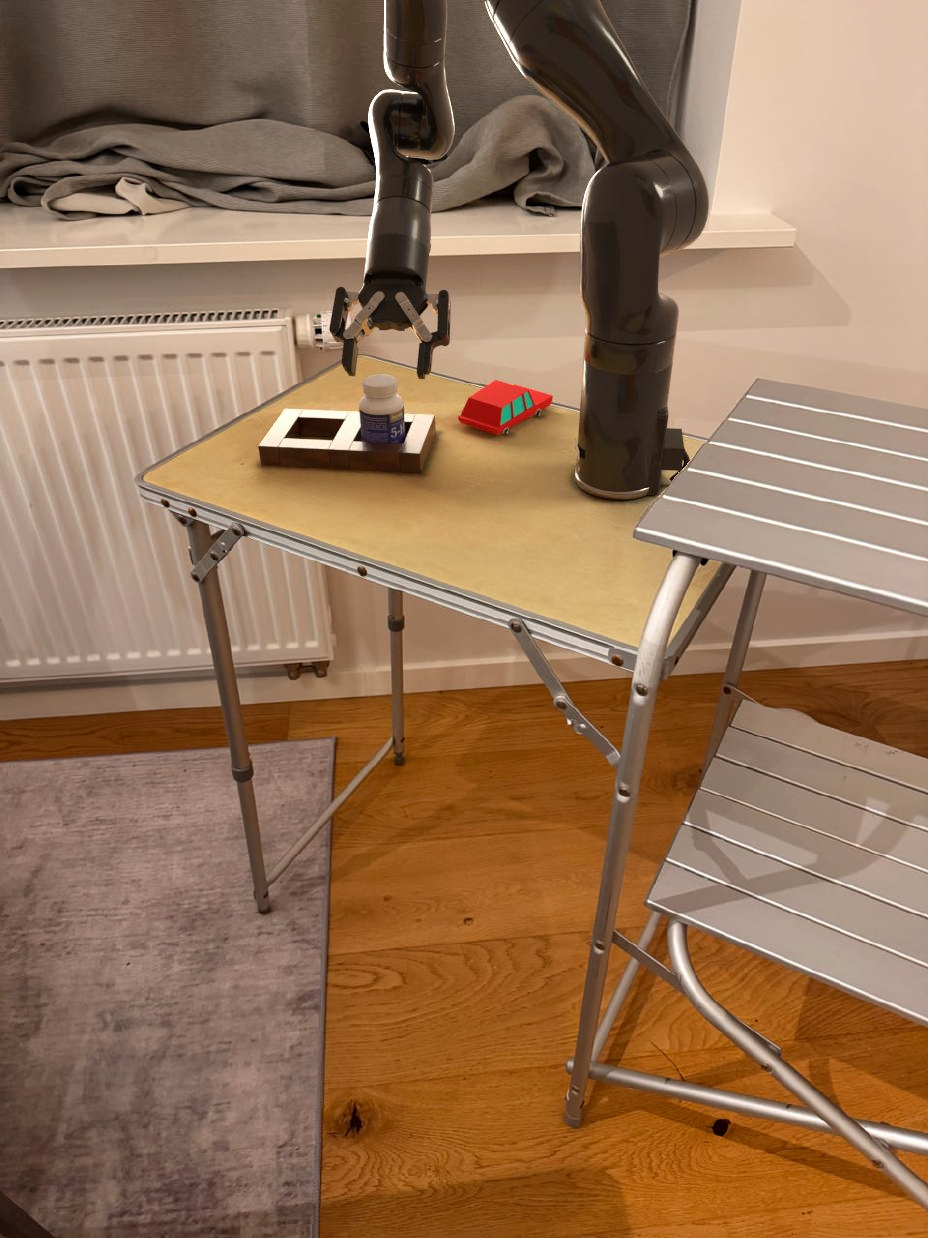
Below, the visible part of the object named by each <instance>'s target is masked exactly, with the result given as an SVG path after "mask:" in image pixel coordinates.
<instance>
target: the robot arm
mask: <svg viewBox="0 0 928 1238" xmlns="http://www.w3.org/2000/svg"><path fill="white" fill-rule="evenodd" d="M484 4H485V8H486V10H487V13H488V15H489V17H490V19H491V21H492V23H493V25H494V27H495V29H496V31H497V33H498V35H499V36H500V39H501V40H502V42H503V44H504V46H505V48H506V50H507V51H508V54H509V55H510V57H511V59H512V61H513V63H514V64H515V66H516V67H517V68H518V70H519V71H520V72H521V75H523V77H525V78H526V80H527V81H529V83H530V84H532V86H533V87H535V89H536V90H537V91H538V92H540V93H541V95H543V96H544V97H545V98H547V100H549V101H550V102H551V103H552V104H554V105H555V106H556V107H557V108H558V109H559V110H561V112H563V113H564V114H566V115H567V116H568V117H569V118H570V119H572V120H573V121H574V122H575V123H576V124H577V125H578V126H580V128H582V130H583V131H584V132H585V133H586V134H587V135H588V136H589V137H590V139H591V140H592V141H593V143H594V144H595V146H596V147H597V149H598V150H599V152H600V153H601V155H602V157H603V159H604V160H605V162H606V164H605V165H602V166H601V167H600V168H599V169H598V170H597V171H596V172H595V173H594V174H593V175H592V177H591V178H590V180H589V182H588V183H587V186H586V190H585V191H584V196H583V199H582V205H581V212H580V221H579V222H580V225H579V296H580V300H581V304H582V307H583V310H584V314H585V326H584V329H585V330H584V343H583V344H584V345H583V356H582V357H583V359H582V360H583V361H582V374H581V389H580V402H579V417H578V418H579V419H578V421H579V422H578V431H577V432H578V433H577V438H576V437H574V449H575V453H576V458H575V459H576V460H575V469H574V482H575V483H576V485H577V486H578V488H580V489H581V490H582V491H584V492H585V493H588V494H590V495H593V496H595V497H599V498H603V499H608V500H634V499H639V498H643V497H646V496H650V495H653V496H654V495H655V496H658V495H659V493H660V485H661V478H662V471H671V472H672V471H673V472H675V473H674V474H673V475H672V476H671V477H669V481H670V482H671V481H672V480H673V479H674V477H675V476H676V475H677V474H678V472H680V471H681V470H682V469H683V468H684V467H685V466H686V465H687V463H688V462H689V461H690V462H691V459H690V456H689V454H688V452H687V451H686V448H685V442H684V435H683V429H682V428H676V427H674V428H671V427H668V424H669V415H670V414H669V406H668V403H669V396H670V389H671V381H672V380H671V379H672V372H673V365H674V357H675V356H674V355H675V347H676V341H677V340H676V339H677V332H678V324H679V316H680V315H679V314H680V308H679V304H678V303H677V302H676V300H675V299H674V298H673V297H671V296H669V295H668V294H665V293H663V292H660V291H659V278H660V276H659V275H660V261H661V258H662V257H664V256H668V255H670V254H673V253H675V252H679V251H681V250H684V249H686V248H687V247H689V246H691V245H692V244H693V243H694V242H696V241H697V240H698V238H699V237H700V236H701V234H702V233H703V231H704V229H705V228H706V225H707V221H708V218H709V210H710V198H709V192H708V187H707V183H706V180H705V178H704V177H705V176H704V174H703V173H702V171H701V169H700V166H699V165H698V163H697V162H696V159H695V158H694V157H693V155H692V153H691V152H690V150H689V149H688V147H687V146H686V144H685V143H684V142H683V140H682V139H681V137H680V136H679V134H678V132H677V131H676V130H675V128H674V127H673V125H672V124H671V122H670V121H669V119H668V118H667V116H666V115H665V113H664V112H663V111H662V109H661V108H660V106H659V104H658V103H657V102H656V100H655V99H654V97H653V96H652V94H651V93H650V91H649V89H648V88H647V86H646V85H645V83H644V81H643V79H642V77H641V75H640V73H639V72H638V70H637V68H636V66H635V64H634V62H633V60H632V58H631V57H630V55H629V53H628V51H627V49H626V47H625V46H624V43H623V42H622V40H621V38H620V36H619V35H618V33H617V31H616V30H615V28H614V26H613V24H612V21H611V20H610V19H609V17H608V15H607V11H606V10H605V8H604V7H603V5H602V1H601V0H484ZM448 13H449V12H448V0H384V18H383V19H384V20H383V21H384V22H383V23H384V24H383V31H384V33H383V65H384V70H385V73H386V75H387V76H388V78H389V79H390V80H391V81H392V82H393V83H395V84H396V85H398V86H401V87H403V88H404V89H406V90H410V91H411V92H410V91H402V90H396V89H384V90H382V91H380V92H378V94H377V95H375V97H374V98H373V100H372V102H371V103H370V106H369V110H368V128H369V134H370V139H371V145H372V149H373V153H374V158H375V166H376V182H375V194H374V201H373V210H372V215H371V218H370V223H369V228H368V229H369V230H368V237H367V246H366V247H367V248H366V255H365V265H364V274H363V284H362V287H361V289H360V290H359V291H347V290H346V288H345V287H344V286H338V287H337V288H336V290H335V294H334V298H333V299H334V300H333V305H332V311H331V317H330V321H329V328H328V330H329V332H330V334H331V336H332V338H333V339H334V341H335V342H336V343H342V354H341V366H342V368H343V369H344V371H345V372H346V373H347V375H348V376H349V377H356V373H357V365H358V358H359V357H358V355H359V347H358V345H359V344H360V343H361V342H362V341H363V340H364V339H365V338H366V337H369V336H370V335H371V334H372V333H373V332H374V330H376V328H377V329H379V330H378V331H390V330H394V331H397V332H405V331H406V330H407V329H409V328H410V329H411V331H412V333H414V335H415V336H416V338H417V339H418V340H419V343H418V353H417V364H416V375H417V378H418V380H426V376H427V375H428V376H429V375H430V374H431V372H432V367H433V355H434V350H435V349H436V348H438V347H447V346H449V345H450V344H451V318H452V316H451V315H452V314H451V313H452V302H451V298H450V294H449V291H448V290H446V289H441V290H439V292H438V293H428V294H427V282H428V272H429V263H430V261H429V260H430V253H431V250H432V244H431V239H432V224H431V221H432V209H433V200H434V199H433V198H434V188H435V183H434V181H435V180H434V176H433V173H432V171H431V170H430V169H429V168H428V167H427V166H426V165H425V164H423V163H422V162H421V161H418V160H416V159H425V160H440V159H441V158H443V157H444V156H445V155H446V154H447V153H448V152H449V151H450V149H451V148H452V145H453V141H454V137H455V121H454V115H453V114H454V113H453V109H452V105H451V100H450V96H449V91H448V87H447V79H446V70H445V69H446V66H445V65H446V64H445V63H446V45H447V30H448V19H449V18H448V17H449V16H448V15H449V14H448ZM415 158H416V159H415ZM357 304H359V305H360V307H361V310H360V311H359V312H358V313H357V314H356V315H355V317H354V320H353V321H352V322H351V324H350V325H349V326H347V322H348V316H349V312H352V311H353V310H354V308H355V306H356V305H357ZM429 306H430V307H432V311H433V312H434V314H437V329H436V331H434V332H431V331H430V330H429V329H428V327H427V326H426V324H425V323H424V321H423V319H422V317H421V315H423V313H424V312H425V311H426V310H427V308H428V307H429Z"/></svg>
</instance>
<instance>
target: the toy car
mask: <svg viewBox="0 0 928 1238" xmlns="http://www.w3.org/2000/svg"><path fill="white" fill-rule="evenodd" d="M553 399H554V396H553V394H549V393H546V392H543V391H539V390H536V389H532V388H529V387H526V386H521V385H519V384H518V385H517V384H511V383H508V382H504V381H501V380H497V379H494V380H493V381H491V382H490V383H489V384H487V385H485V386H483V387H482V388H481V389H479V390H477V391H476V392H474V393H473V394H471V395H470V396H469V397H468V398H467V400H466V402H465V405H464V407H463V409H462V411H461V412H460V415H458V416H457V419H458V422H459V423H460V424H462V425H465V426H468V427H472V428H475V429H478V430H481V431H483V432H487V433H489V434H492V435H495V436H499V435H500V434H504V435H505V436H507V435H509V433H510V429H511V428H513V427H515V426H517V425H518V424H520V423H522V422H524V421H525V420H527V419H530V418H531V417H532V416H537V417H540V416H541V415H542V411H543V410H545V409H547V408H549V407H550V406H551V404H552V402H553Z"/></svg>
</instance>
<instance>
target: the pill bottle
mask: <svg viewBox="0 0 928 1238" xmlns="http://www.w3.org/2000/svg"><path fill="white" fill-rule="evenodd" d="M362 391H363V392H362V393H363V394H364V395H363V396H362V397H361V398H360V399H359V402H358V412H359V413H360V425H361V437H362V442H378V443H400V444H403V443H404V441H405V439H406V438H405V420H404V414H405V405H404V400H403V397H401V395H399V394H398V379H397V378H396V376H394V375H392V374H387V373H375V374H371V375H368V376H365V377H364V378H363V379H362Z"/></svg>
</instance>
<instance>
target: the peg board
mask: <svg viewBox="0 0 928 1238" xmlns="http://www.w3.org/2000/svg"><path fill="white" fill-rule="evenodd" d="M404 420H405V438H406V439H405V441H404V443H403V444H400V443H378V442H362V437H361V425H360V413H359V411H351V410H350V411H349V410H348V411H347V410H326V409H304V408H303V409H301V408H284V409H283V410H282V412H281V414H280V415H279V416H278V418H277V419H276V420H275V422H274V423H273V425H272V426H271V428H270V429H269V431H268V432H267V433H266V434H265V436H264V437H263V438H262V440H261V442H260V443H259V444H258V445H257V449H258V454H259V459H260V465H261V466H270V467H271V466H272V467H287V468H289V467H290V468H291V467H292V468H309V469H310V468H312V469H329V470H330V469H332V470H352V471H373V472H390V473H391V472H393V473H411V474H412V473H413V474H421V473H422V471H423V468H424V466H425V463H426V460H427V458H428V455H429V453H430V449H431V447H432V444H433V441H434V439H435V435H436V432H437V431H436V415H435V414H427V413H424V414H423V413H404ZM301 436H302V437H303V436H304V437H305V436H306V437H326V438H329V437H330V438H334V439H332V440H331V439H311V438H310V439H309V438H300V437H301Z"/></svg>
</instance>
